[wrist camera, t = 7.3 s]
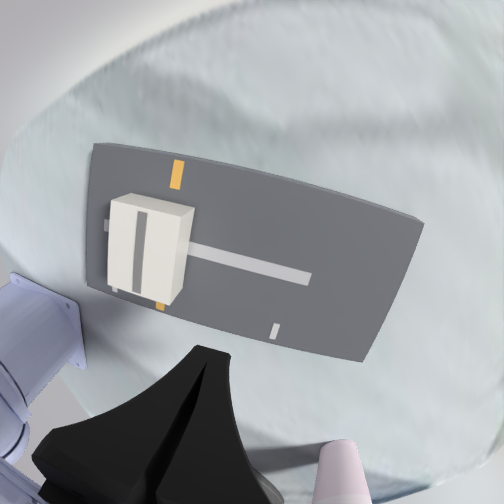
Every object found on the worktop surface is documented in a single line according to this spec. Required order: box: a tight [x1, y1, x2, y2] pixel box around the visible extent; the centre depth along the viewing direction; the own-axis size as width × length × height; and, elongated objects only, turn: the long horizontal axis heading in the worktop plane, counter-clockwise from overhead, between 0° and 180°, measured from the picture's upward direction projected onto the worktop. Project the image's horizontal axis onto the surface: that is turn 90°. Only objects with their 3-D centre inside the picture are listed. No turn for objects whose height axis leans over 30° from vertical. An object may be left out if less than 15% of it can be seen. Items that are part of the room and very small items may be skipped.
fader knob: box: [108, 193, 195, 306], centre depth 16 cm, size 4×5×2 cm
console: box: [86, 143, 425, 362], centre depth 18 cm, size 20×10×2 cm, turn 77°
